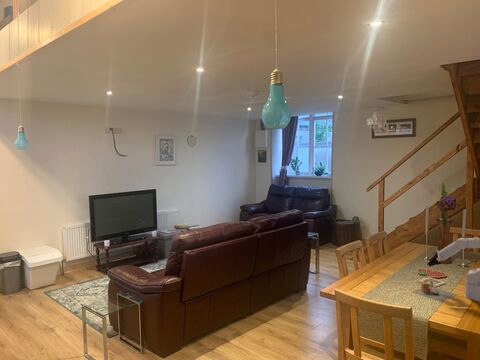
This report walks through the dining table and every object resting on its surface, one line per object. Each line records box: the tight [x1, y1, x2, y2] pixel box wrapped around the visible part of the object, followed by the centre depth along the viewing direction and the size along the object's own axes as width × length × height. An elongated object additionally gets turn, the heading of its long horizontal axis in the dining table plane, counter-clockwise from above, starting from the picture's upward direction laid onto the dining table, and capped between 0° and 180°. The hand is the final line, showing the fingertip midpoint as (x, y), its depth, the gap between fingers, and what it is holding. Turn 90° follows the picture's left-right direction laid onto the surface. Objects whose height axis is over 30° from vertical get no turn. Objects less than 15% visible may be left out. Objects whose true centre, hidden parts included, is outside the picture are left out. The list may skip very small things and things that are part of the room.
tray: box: [418, 277, 446, 288], centre depth 236 cm, size 11×11×2 cm
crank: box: [429, 280, 439, 295], centre depth 221 cm, size 10×4×5 cm, turn 167°
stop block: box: [420, 281, 430, 292], centre depth 222 cm, size 4×4×5 cm
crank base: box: [412, 287, 458, 303], centre depth 218 cm, size 18×18×1 cm
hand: (429, 263), depth 227 cm, fingers open, 7 cm apart
